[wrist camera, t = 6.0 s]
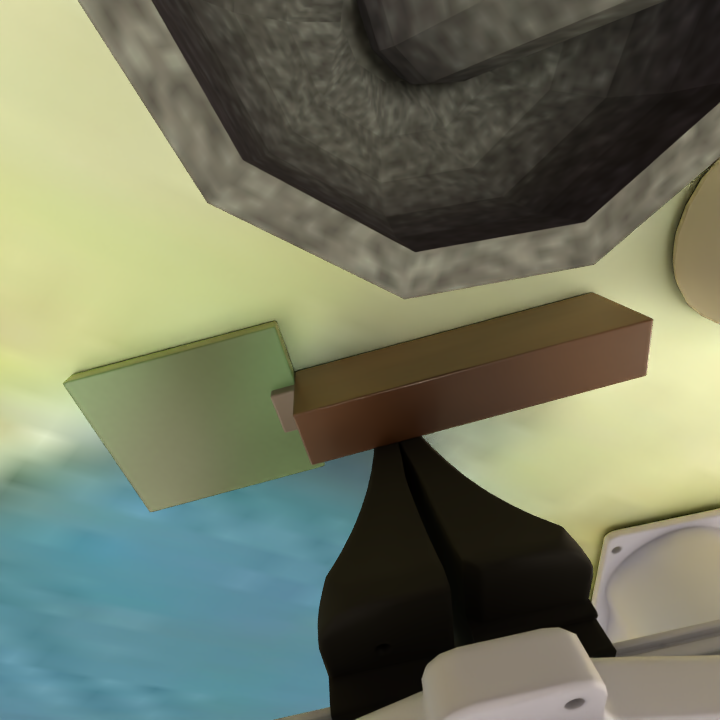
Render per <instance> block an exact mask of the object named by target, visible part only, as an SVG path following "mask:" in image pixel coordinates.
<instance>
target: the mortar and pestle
mask: <svg viewBox="0 0 720 720" xmlns="http://www.w3.org/2000/svg"><path fill="white" fill-rule="evenodd" d="M78 2H79V3H80V5H81V6H82V8H83V9H84V11H85V13H86V14H87V16H88V17H89V19H90V20H91V22H92V23H93V25H94V27H95V28H96V30H97V31H98V33H99V34H100V36H101V38H102V39H103V41H104V42H105V44H106V45H107V47H108V48H109V50H110V52H111V53H112V55H113V56H114V58H115V59H116V61H117V62H118V64H119V66H120V67H121V69H122V70H123V72H124V73H125V75H126V77H127V78H128V80H129V81H130V83H131V84H132V86H133V87H134V89H135V91H136V92H137V94H138V95H139V97H140V98H141V100H142V101H143V103H144V105H145V106H146V108H147V109H148V111H149V112H150V114H151V116H152V117H153V119H154V120H155V122H156V123H157V125H158V126H159V128H160V130H161V131H162V133H163V134H164V136H165V137H166V139H167V140H168V142H169V144H170V145H171V147H172V148H173V150H174V151H175V153H176V155H177V156H178V158H179V159H180V161H181V162H182V164H183V165H184V167H185V169H186V170H187V172H188V173H189V175H190V176H191V178H192V179H193V181H194V183H195V184H196V186H197V187H198V189H199V190H200V192H201V194H202V195H203V197H204V198H205V200H206V201H207V203H209V204H211V205H213V206H215V207H217V208H219V209H221V210H223V211H225V212H227V213H229V214H231V215H233V216H235V217H237V218H240V219H242V220H244V221H246V222H248V223H250V224H252V225H254V226H256V227H258V228H260V229H262V230H264V231H266V232H268V233H270V234H272V235H274V236H276V237H278V238H280V239H282V240H285V241H287V242H289V243H291V244H293V245H295V246H297V247H299V248H301V249H303V250H305V251H307V252H309V253H311V254H313V255H315V256H317V257H319V258H321V259H323V260H325V261H327V262H330V263H332V264H334V265H336V266H338V267H340V268H342V269H344V270H346V271H348V272H350V273H352V274H354V275H356V276H358V277H360V278H362V279H364V280H366V281H368V282H370V283H372V284H375V285H377V286H379V287H381V288H383V289H385V290H387V291H389V292H391V293H393V294H395V295H397V296H399V297H401V298H403V299H409V298H414V297H420V296H425V295H431V294H436V293H442V292H447V291H452V290H458V289H463V288H469V287H474V286H480V285H485V284H491V283H496V282H502V281H507V280H513V279H518V278H524V277H529V276H535V275H540V274H546V273H551V272H557V271H562V270H568V269H573V268H579V267H584V266H589V265H594V264H595V263H596V262H598V261H599V260H600V259H601V258H602V257H603V256H605V255H606V254H607V253H608V252H609V251H611V250H612V249H613V248H614V247H615V246H616V245H618V244H619V243H620V242H621V241H622V240H623V239H625V238H626V237H627V236H628V235H629V234H630V233H632V232H633V231H634V230H635V229H636V228H637V227H639V226H640V225H641V224H642V223H643V222H644V221H646V220H647V219H648V218H649V217H650V216H651V215H653V214H654V213H655V212H656V211H657V210H658V209H660V208H661V207H662V206H663V205H664V204H665V203H667V202H668V201H669V200H670V199H671V198H672V197H674V196H675V195H676V194H677V193H678V192H680V191H681V190H682V189H683V188H684V187H685V186H687V185H688V184H689V183H690V182H691V181H692V180H694V179H695V178H696V177H697V176H698V175H699V174H701V173H702V172H703V171H704V170H705V169H706V168H708V167H709V166H710V165H711V164H712V163H713V162H715V161H716V160H717V159H718V158H719V157H720V0H78Z"/></svg>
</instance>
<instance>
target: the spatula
mask: <svg viewBox="0 0 720 720" xmlns="http://www.w3.org/2000/svg"><path fill="white" fill-rule="evenodd" d="M652 326H653V319H652V318H650V317H648V316H645V315H643V314H641V313H638V312H636V311H634V310H632V309H629V308H627V307H625V306H623V305H620V304H618V303H616V302H614V301H611V300H609V299H607V298H604V297H602V296H600V295H598V294H595V293H588V294H585V295H581V296H577V297H573V298H570V299H566V300H562V301H558V302H555V303H551V304H547V305H543V306H540V307H536V308H532V309H528V310H525V311H521V312H517V313H513V314H510V315H506V316H502V317H498V318H495V319H491V320H487V321H483V322H480V323H476V324H472V325H468V326H465V327H461V328H457V329H453V330H450V331H446V332H442V333H438V334H435V335H431V336H427V337H423V338H420V339H416V340H412V341H408V342H405V343H401V344H397V345H393V346H390V347H386V348H382V349H378V350H375V351H371V352H367V353H363V354H360V355H356V356H352V357H348V358H345V359H341V360H337V361H333V362H330V363H326V364H322V365H319V366H315V367H311V368H307V369H304V370H300V371H296V372H294V370H293V367H292V364H291V361H290V358H289V356H288V353H287V350H286V347H285V344H284V342H283V339H282V336H281V333H280V330H279V328H278V325H277V322H276V321H273V322H269V323H265V324H262V325H258V326H254V327H250V328H247V329H243V330H239V331H235V332H231V333H228V334H224V335H220V336H216V337H213V338H209V339H205V340H201V341H198V342H194V343H190V344H186V345H183V346H179V347H175V348H171V349H168V350H164V351H160V352H156V353H153V354H149V355H145V356H141V357H138V358H134V359H130V360H126V361H122V362H119V363H115V364H111V365H107V366H104V367H100V368H96V369H92V370H89V371H85V372H81V373H77V374H74V375H71V376H70V377H69V378H68V379H67V380H66V381H65V382H64V383H63V385H64V386H65V388H66V389H67V391H68V392H69V394H70V395H71V396H72V398H73V399H74V401H75V402H76V404H77V405H78V407H79V408H80V410H81V411H82V413H83V414H84V416H85V417H86V419H87V420H88V422H89V423H90V424H91V426H92V427H93V429H94V430H95V432H96V433H97V435H98V436H99V438H100V439H101V441H102V442H103V444H104V445H105V447H106V448H107V449H108V451H109V452H110V454H111V455H112V457H113V458H114V460H115V461H116V463H117V464H118V466H119V467H120V469H121V470H122V472H123V473H124V475H125V476H126V477H127V479H128V480H129V482H130V483H131V485H132V486H133V488H134V489H135V491H136V492H137V494H138V495H139V497H140V498H141V500H142V501H143V503H144V504H145V505H146V507H147V508H148V510H149V511H150V512H154V511H158V510H161V509H165V508H169V507H173V506H176V505H180V504H184V503H187V502H191V501H195V500H199V499H202V498H206V497H210V496H214V495H217V494H221V493H225V492H228V491H232V490H236V489H240V488H243V487H247V486H251V485H255V484H258V483H262V482H266V481H269V480H273V479H277V478H281V477H284V476H288V475H292V474H296V473H299V472H303V471H307V470H310V469H314V468H318V467H322V466H324V465H325V462H326V461H330V460H333V459H337V458H341V457H344V456H348V455H352V454H356V453H359V452H363V451H367V450H371V449H374V448H377V447H380V446H385V445H389V444H393V443H397V442H400V441H404V440H408V439H412V438H415V437H419V436H423V435H426V434H430V433H434V432H438V431H441V430H445V429H449V428H453V427H456V426H460V425H464V424H467V423H471V422H475V421H479V420H482V419H486V418H490V417H494V416H497V415H501V414H505V413H508V412H512V411H516V410H520V409H523V408H527V407H531V406H534V405H538V404H542V403H546V402H549V401H553V400H557V399H561V398H564V397H568V396H572V395H575V394H579V393H583V392H587V391H590V390H594V389H598V388H602V387H605V386H609V385H613V384H616V383H620V382H624V381H628V380H631V379H635V378H639V377H643V376H646V375H647V368H648V359H649V351H650V343H651V334H652Z"/></svg>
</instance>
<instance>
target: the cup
mask: <svg viewBox="0 0 720 720" xmlns="http://www.w3.org/2000/svg"><path fill="white" fill-rule="evenodd" d="M672 260H673V267H674V274H675V280H676V282H677V285H678V287H679V289H680V291H681V293H682V295H683V296H684V298H685V300H686V302H687V304H688V305H689V306H691V307H692V308H693V309H694V310H695V311H697V312H698V313H699V314H700V315H701V316H703V317H705V318H707V319H709V320H712V321H714V322H716V323H718V324H720V158H719V159H718V160H717V161H716V162H715V163H714V165H713V166H712V167H711V168H710V169H709V171H708V172H707V173H706V174H705V175H704V176H703V178H702V179H701V181H700V182H699V184H698V186H697V187H696V189H695V191H694V192H693V194H692V196H691V198H690V199H689V201H688V203H687V204H686V206H685V209H684V211H683V214H682V217H681V220H680V222H679V225H678V228H677V231H676V233H675V241H674V249H673V257H672Z"/></svg>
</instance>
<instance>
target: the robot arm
mask: <svg viewBox="0 0 720 720" xmlns="http://www.w3.org/2000/svg"><path fill="white" fill-rule="evenodd" d="M592 578H593V566H592V564H591V562H590V560H589V558H588V557H587V555H586V554H585V553H584V551H583V550H582V548H581V547H580V546H579V545H578V544H577V542H576V541H575V540H574V539H573V538H572V537H571V536H570V535H569V533H568V532H567V531H566V530H565V529H564V528H563V527H562V526H559V525H557V524H554V523H552V522H549V521H546V520H544V519H541V518H539V517H536V516H534V515H531V514H529V513H527V512H525V511H523V510H521V509H519V508H516V507H514V506H512V505H510V504H509V503H507V502H505V501H503V500H501V499H500V498H498V497H496V496H494V495H492V494H491V493H489V492H488V491H486V490H484V489H483V488H481V487H480V486H478V485H477V484H475V483H474V482H473V481H471V480H470V479H468V478H467V477H466V476H464V475H463V474H462V473H460V472H459V471H458V470H457V469H456V468H454V467H453V466H452V465H451V464H450V463H448V462H447V461H446V460H445V459H444V458H443V457H442V456H441V455H440V454H439V453H438V452H436V451H435V450H434V449H433V448H432V447H431V446H430V445H429V444H428V443H427V442H426V440H425V439H424V438H423V437H422V436H419V437H415V438H412V439H408V440H404V441H400V442H397V443H393V444H389V445H385V446H380V447H377V448H374V458H373V464H372V471H371V475H370V480H369V484H368V488H367V492H366V495H365V499H364V502H363V505H362V508H361V510H360V513H359V516H358V518H357V521H356V523H355V525H354V528H353V530H352V532H351V534H350V536H349V538H348V540H347V542H346V544H345V546H344V548H343V550H342V552H341V553H340V555H339V557H338V559H337V560H336V562H335V563H334V565H333V567H332V568H331V570H330V571H329V573H328V575H327V576H326V579H325V583H324V587H323V591H322V596H321V600H320V606H319V614H318V642H319V650H320V653H321V656H322V659H323V662H324V664H325V667H326V670H327V673H328V676H329V691H330V707H328V708H324V709H319V710H315V711H310V712H306V713H302V714H297V715H293V716H288V717H284V718H279V719H275V720H720V508H719V509H714V510H709V511H705V512H700V513H695V514H690V515H686V516H681V517H676V518H671V519H667V520H662V521H657V522H652V523H648V524H643V525H638V526H634V527H629V528H624V529H619V530H615V531H611V532H609V533H608V534H607V535H606V536H605V538H604V541H603V546H602V551H601V556H600V561H599V566H598V571H597V576H596V581H595V586H594V591H593V596H592V601H590V600H589V594H590V589H591V583H592Z"/></svg>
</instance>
